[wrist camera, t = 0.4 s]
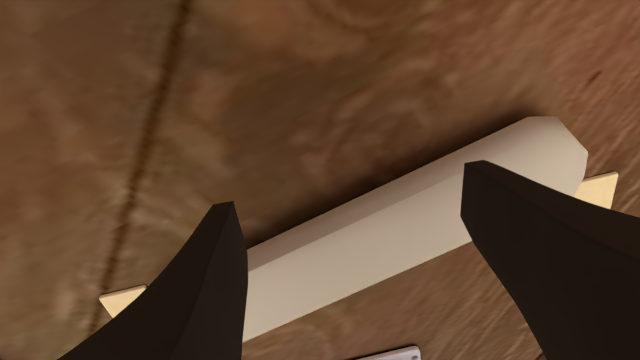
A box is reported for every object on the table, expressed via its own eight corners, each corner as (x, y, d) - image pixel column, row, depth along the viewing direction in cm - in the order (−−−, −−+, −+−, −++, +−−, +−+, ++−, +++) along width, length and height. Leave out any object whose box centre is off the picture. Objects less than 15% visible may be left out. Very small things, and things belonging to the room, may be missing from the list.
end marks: (604, 219, 28) (607, 222, 28) (128, 334, 28) (126, 337, 28) (615, 170, 26) (618, 173, 26) (100, 295, 26) (98, 298, 26)
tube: (590, 99, 18) (132, 315, 21) (625, 200, 20) (185, 391, 23) (532, 95, 24) (169, 269, 27) (562, 174, 25) (210, 333, 28)
